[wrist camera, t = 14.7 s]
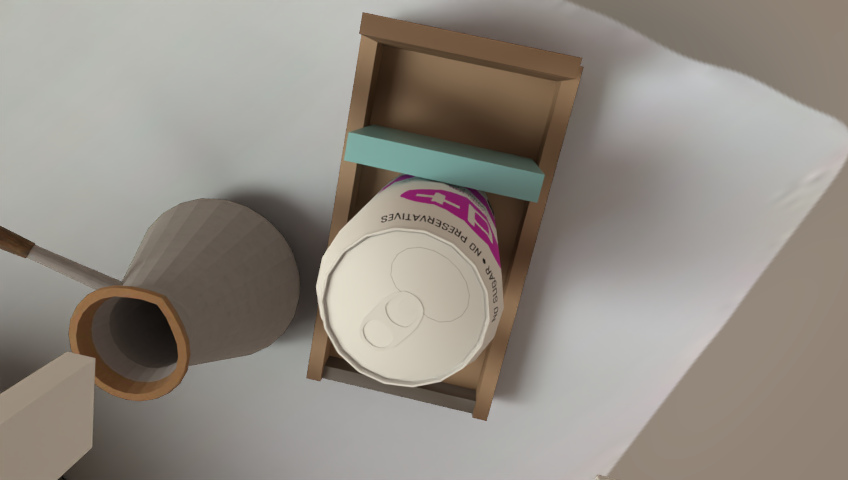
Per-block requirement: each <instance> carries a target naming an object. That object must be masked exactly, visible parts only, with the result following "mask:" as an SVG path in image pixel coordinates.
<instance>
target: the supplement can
mask: <svg viewBox="0 0 848 480" xmlns="http://www.w3.org/2000/svg"><path fill="white" fill-rule="evenodd" d="M316 291H317V297H318V303H319V310H320V316H321V319H322V320H323V324H324V329H325V331H326V333H327V334H328V336H329V338H330V340H331V342H332V343H333V345H334V347H335V349H336V351H337V353H338V354H339V355H341V356H342V357H343V358H344V359H345V360H346V361H347V362H348V363H349V364H350V365H351V366H352V367H354V368H355V369H356V370H357V371H358V372H360V373H362V374H364V375H366V376H368V377H370V378H373V379H375V380H377V381H379V382H381V383H384V384H389V385H398V386H406V387H417V386H422V385H427V384H432V383H437V382H441V381H443V380H444V379H446V378H448V377H449V376H451V375H453V374H455V373H456V372H458V371H460V370H461V369H463V368H464V367H465V366H466V365H468V364H470V363H472V362H473V361H475V360H476V359H477V357H478V356H479V355H480V354H481V353H482V351H483V350H484V349H485V348H486V346H487V345H488V344H489V343H490V342H491V340H492V339H493V338H494V336H495V333H496V330H497V327H498V324H499V321H500V318H501V315H502V312H503V308H504V303H503V287H502V273H501V265H500V257H499V248H498V240H497V232H496V224H495V215H494V211H493V208H492V206H491V204H490V202H489V200H488V197H487V195H486V193H485V191H481V190H476V189H472V188H467V187H463V186H458V185H454V184H449V183H445V182H440V181H436V180H431V179H427V178H422V177H417V176H413V175H408V174H404V173H401V174H400V175H399V176H397V177H396V178H394V179H393V180H392V181H390V182H389V183H388V184H387V185H386V186H384V187H383V188H382V189H381V190H380V191H379V192H378V193H377V194H376V195H375V196H374V197H373V198H372V199H371V200H370V201H369V202H368V203H367V204H366V205H365V206H364V207H363V208H362V209H361V210H360V211H359V212H358V213H357V214H356V215H355V216H354V217H353V218H352V219H351V220H350V221H349V222H348V223H347V224H346V225H345V226H344V227H343V228H342V229H341V230H340V231H339V233H338V234H337V236H336V237H335V239H334V240H333V242H332V243H331V245H330V246H329V248H328V249H327V251H326V252H325V254H324V255H323V257H322V261H321V265H320V270H319V275H318V280H317V284H316Z"/></svg>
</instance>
